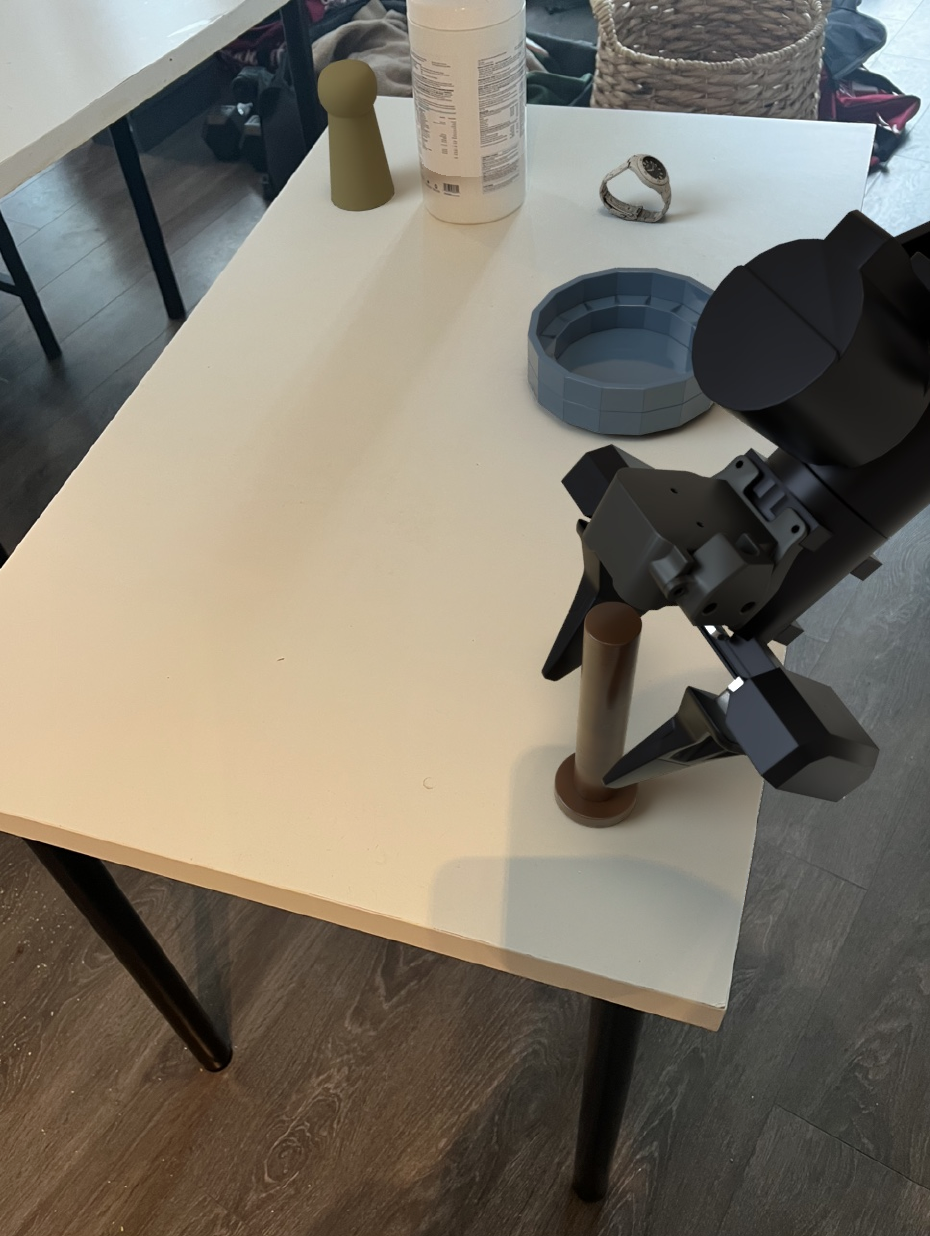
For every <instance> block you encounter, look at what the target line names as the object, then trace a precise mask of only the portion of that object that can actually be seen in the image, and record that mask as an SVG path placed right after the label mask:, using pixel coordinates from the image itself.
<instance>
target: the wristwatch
mask: <svg viewBox="0 0 930 1236" xmlns="http://www.w3.org/2000/svg"><path fill="white" fill-rule="evenodd" d="M627 170H630V171H631V172H633V173H634V174H635V176H636V177H637V178H638V180H639V181H641V183H642V184H643V185H644V186H646V187H647V188H649V189H652V190H653V191H655V192H657V194H658V195H660V197H661V200H662V203H664V204H663V207H662V208H661V209H660V210H652V211H650V210H648V209H646V208H644V205H642V204H641V205H633V204H629V203H627V202H625V201H622V200H620V199H618V198H617V197H615V196H614V195H613V194H612V193H611V192H610V190H609V188H608V182H609V181H611V180H613V178H616V177H617V176H619V175H620V174H622V173H624V172H626V171H627ZM670 181H671V180H670V175H669V172H668V169H667V168H666V166H665V165H664V164H663V162H662V161H661V160H660V159H658V158H657V157H655V156H654V155H651V154H647V153H645V154H644V153H637V154H634V155H632V156H630V157H629V158H628V159H626V161H625V162H623V163H621V164H620V165H619V166H618V167H616V168H614V169H612V170H611V171H609V172H608V173H606V175H605V176H604V177H603V178H602V181H601V183H600V186H599V191H598V192H599V193H598V195H599V198H600V201H601V202H602V204H603V206H604V208H605V209H607V210H608V213H609V214H611V215H613V216H615V217H617V218H619V219H622V220H625V221H632V222H642V223H651V224H652V223H655V222H657V221H660V220H661V218H662V217H663V216H665V214H667V212H668V211H669V209H670V206H671V202H672V187H671V184H670Z"/></svg>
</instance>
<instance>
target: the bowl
mask: <svg viewBox="0 0 930 1236" xmlns="http://www.w3.org/2000/svg"><path fill="white" fill-rule="evenodd" d="M714 291H715V290H714V289H712V288H711V287H709V286H707V285H705V284H704V283H702V282H701V281H699V280H697V279H696V278H694V277H692V276H690V275H686V274H681V273H678V272H673V271H669V270H665V269H661V268H657V267H613V268H607V269H604V270H603V269H602V270H598V271H594V272H588V273H585V274H581V275H578V276H576V277H574V278H572V279H570V280H568V281H566V282H564V283H562V284H561V285H559V286H556V287H555V288H553V289H551V290H550V291H549V292H548V293H547V294H546V295H545V296H544V297H543V298H542V300H541V301H540V302H539V303H538V304H537V305H536V306H535V307H534V308H533V309H532V311H531V314H530V318H529V319H530V320H529V324H528V330H527V381H528V383H529V385H530V388H531V390H532V392H533V394H534V396H535V398H536V401H537V402H538V404H539V405H541V406H542V407H543V408H544V409H546V410H547V411H549V412H550V413H551V414H552V415H554V416H555V417H556V418H557V419H559V420H560V421H561V422H564V423H566V424H569V425H572V426H575V427H577V428H582V429H583V430H587V431H591V432H593V433H597V434H604V435H623V436H624V435H628V436H643V435H647V434H652V433H655V432H660V431H665V430H669V429H674V428H678V427H681V426H682V425H684V424H686V423H687V422H689V421H691V420H693V419H695V418H696V417H698V416H699V415H701V414H703V413H705V412H707V411H708V410H709V409H710V408H711V407H712V405H713V404H714V402H713V401H711V400H710V399H709V398H708V397H707V396H706V395H705V394H704V393H703V392H702V391H701V389H700V387H699V385H698V383H697V380H696V378H695V376H694V372H693V366H692V360H691V355H692V343H693V337H694V333H695V330H696V326H697V323H698V320H699V317H700V315H701V313H702V311H703V309H704V307H705V305H706V303H707V301H708V299H709V298H710V297H711V295H712V294H713V293H714Z"/></svg>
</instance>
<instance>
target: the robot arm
mask: <svg viewBox="0 0 930 1236" xmlns="http://www.w3.org/2000/svg"><path fill="white" fill-rule="evenodd" d="M691 360H692V366H693V372H694V376H695V378H696V380H697V383H698V385H699V387H700V389H701V391H702V392H703V393H704V394H705V395H706V396H707V397H708V398H709V399H710V400H711V401H713V404H715V405H717V406H719V407H720V408H721V409H723V410H724V411H726V412H727V413H728V414H730V415H732V416H733V417H734V418H736V419H737V420H739V421H740V422H741V423H743V424H744V425H746V426H747V427H749V428H750V429H752V430H753V431H755V433H757V434H759V435H760V436H761V437H763V438H764V439H766V440H767V441H769V442H770V443H772V444H773V445H774V446H776V447H777V448H776V449H775V450H774V451H772V453H771V454H769V456H768V457H766V456H765V455H763V454H761V452H758V451H757V450H756V449H754V448H753V447H750V448H749V449H748V450H747V451H746V452H745V453H744V454H740V455H737V456H735V457H734V458H733V459H732V460H731V461H730V462H729V463H728V464H727V465H726V466H725V467H724V468H723V469H722V470H720V471H717V473H715V474H713V475H711V476H703V475H700V474H697V473H696V472H693V471H688V470H677V469H662V468H661V469H660V468H655V467H653V466H651V465H649V464H648V463H647V462H645V461H643V460H641V459H639V458H637V457H636V456H634V455H632V454H631V453H630V452H629V453H628V452H626V451H625V450H624V449H621V448H620V447H618V446H616V445H614V444H613V443H610V444H607V445H604V446H602V447H598V448H595V449H592V450H589V451H586V452H585V453H584V454H582V456H581V457H580V458H579V459H578V460H577V461H576V463H575V464H574V465H573V466H572V467H571V468H570V470H569V471H567V473H566V474H565V475H564V476H563V477H562V479H561V480H560V482H561V484H562V486H563V488H564V489H565V490H566V491H567V494H568V495H569V496H570V497H571V499H572V500H573V502H574V503H575V505H576V506H577V508H578V510H579V511H580V512H581V514H582V515H583V516H584V517H586V518H587V519H589V521H587V520H586V519H584V518H578V520H577V521H576V525H575V531H576V533H577V535H578V536H579V539H580V543H581V550H582V551H581V552H582V561H583V571H582V576H581V578H580V581H579V584H578V587H577V589H576V592H575V595H574V598H573V600H572V602H571V605H570V607H569V609H568V611H567V614H566V616H565V618H564V619H563V623H562V624H561V627H560V629H559V632H558V633H557V636H556V638H555V640H554V642H553V644H552V647H551V649H550V651H549V653H548V656H547V657H546V660H545V662H544V664H543V666H542V668H541V671H540V673H541V675H542V677H543V679H545V680H547V681H550V682H558V681H561V679H563V678H566V677H567V675H570V674H571V673H572V672H574V671H575V670H577V669H578V668H580V667H581V665H582V651H583V636H584V622H585V618H586V615H587V614H588V612H589V611H590V610H591V609H592V608H593V607H595V606H596V605H598V604H601V603H604V602H620V603H624V604H627V605H629V606H631V607H632V608H633V609H635V610H636V611H637V612H638V614H639V615H640V617H641V618H642V617H643V616H644V615H646V614H647V613H648V612H650V611H659V610H661V609H663V608H667V607H679V609H680V610H681V611H682V613H683V614H684V616H685V617H686V619H687V620H688V621H689V623H690V625H691V626H693V627H696V628H697V629H698V631H699V632H700V634H701V635H702V636H703V638H704V639H705V640H706V642H707V643H708V645H709V646H710V647H711V649H712V650H713V652H714V653H715V655H716V656H717V658H718V659H719V660H720V662H721V663H722V664H723V666H724V668H725V669H726V670H727V672H728V673H729V674H730V676H731V678H732V679H733V681H732V682H730V684H728V685H727V686H726V688H725V689H724V690H723V691H721V692H720V693H719V694H717V693H716V694H715V693H713V692H710V691H707V690H704V689H701V688H698V687H695V686H692V685H688V686H686V688H685V690H684V692H683V696H682V698H681V701H680V704H679V707H678V709H677V711H676V713H675V714H674V715H672V716H671V717H670V718H669V719H668V720H666V721H665V722H664V723H662V725H660V726H659V727H658V728H656V729H655V730H654V731H652V732H651V733H650V734H649V735H648V736H646V737H645V738H644V739H643V740H641V741H640V742H639V743H638V744H637V745H635V746H634V747H632V749H630V750H629V751H627V752H626V753H624V755H623V757H622V758H621V759H619V760H618V761H617V762H616V763H615V764H614V765H613V767H612V768H611V769H610V770H609V771H608V772H607V773H606V774H605V775H604V776H603V777H602V779H601V780H602V783H603V784H604V786H605V787H610V788H620V787H624V786H627V785H630V784H634V783H637V782H638V783H641V782H643V781H644V782H645V781H647V780H650V779H653V778H657V777H660V776H663V775H667V774H670V773H673V772H677V771H681V770H683V769H687V768H690V767H693V766H697V765H700V764H701V765H702V764H705V763H708V762H712V761H717V760H718V761H719V760H722V759H728V758H734V757H740V756H746V757H747V758H748V760H749V762H750V763H751V764H752V766H753V767H754V768H755V770H756V772H757V774H759V776H760V777H761V778H762V779H764V781H766V782H767V783H768V784H769V785H770V786H772V787H773V788H774V789H775V790H778V791H782V792H787V793H791V794H796V795H800V796H805V797H809V798H813V799H814V798H815V799H818V800H823V801H828V802H831V803H832V802H833V803H838V802H839V801H841V800H842V799H844V798H845V797H847V795H849V794H851V793H852V792H854V790H856V789H857V788H859V787H860V786H862V784H864V783H865V782H867V781H868V780H869V779H870V777H871V776H872V774H873V772H874V770H875V769H876V765H877V761H878V757H879V755H880V750H881V749H880V747H878V745H877V744H876V743H875V742H874V740H873V739H872V738H871V736H870V735H869V734H868V732H867V731H866V730H865V728H864V727H863V726H862V724H860V722H859V721H858V720H857V718H856V717H855V716H854V714H853V713H852V712H851V711H850V709H849V708H848V707H847V706H846V704H845V703H844V702H843V700H842V699H841V698H840V697H839V695H838V693H836V691H835V690H834V689H833V688H832V687H831V685H827V684H825V683H823V682H819V681H818V680H814V679H812V678H810V677H807V676H805V675H802V674H799V673H797V672H794V671H791V670H789V669H786V667H785V666H784V664H783V663H782V662H781V661H780V659H779V658H778V657H777V655H776V654H775V653H774V651H773V650H772V649H771V647H770V646H769V645H768V644H770V642H772V641H773V642H776V643H778V644H780V645H783V646H785V647H788V646H789V645H790V644H791V643H792V642H794V641H795V640H796V639H797V638H799V636H801V635H802V634H803V633H804V632H805V629H804V628H803V626H801V625H800V623H799V622H798V621H797V619H799V618H800V617H801V616H802V615H803V614H804V613H806V612H807V611H808V610H809V609H810V608H811V607H813V605H815V604H816V603H817V602H818V601H820V600H821V599H822V598H823V597H824V596H825V595H826V594H828V593H829V592H830V591H831V590H832V589H833V588H835V586H837V585H838V584H839V583H841V582H842V581H843V579H845V578H846V577H847V576H848V575H852V576H854V577H855V578H857V579H858V580H860V581H861V582H864V581H865V580H867V578H869V577H870V576H871V575H872V574H874V572H876V571H877V570H878V569H879V568H881V567H882V566H883V565H884V564H883V563H882V561H880V559H879V558H878V557H877V556H876V555H875V554H874V553H875V552H876V551H878V550H879V549H880V548H881V547H882V546H883V545H884V544H886V542H888V541H889V540H890V539H891V538H892V537H893V536H895V534H896V533H897V534H898V532H899V531H900V530H902V529H903V528H904V527H905V526H906V525H907V524H909V523H910V522H911V521H912V520H913V519H915V518H916V517H917V516H918V515H919V514H921V513H922V511H923V510H924V509H926V508H927V507H929V506H930V220H928V221H926V222H924V223H921V224H919V225H917V226H915V227H913V228H911V229H908V230H906V231H903V232H902V233H899V234H897V235H895V236H894V235H892V234H891V233H889V232H888V231H887V230H886V229H885V228H883V227H882V226H880V225H879V224H878V223H877V222H875V221H874V220H873V219H871V218H870V217H869V216H867V215H866V214H865V213H863V212H862V211H861V210H859V209H857V208H856V209H853V210H850V211H848V212H847V213H846V214H845V215H844V217H843V218H842V219H841V220H840V221H839V222H838V223H837V224H836V225H835V226H834V227H833V228H832V230H831V231H830V232H829V233H828V234H827V235H826V236H825V237H824V238H798V239H794V240H790V241H787V242H783V243H778V244H777V245H774V246H773V247H770V248H769V249H766V250H765V251H763V252H760V253H759V254H757V255H756V256H754V257H753V258H752V259H750V260H749V261H747V262H746V263H745V264H744V265H742V264H740V265H737V266H735V267H733V269H731V271H730V272H729V273H728V274H727V275H726V276H725V277H724V278H723V279H722V280H721V281H720V283H719V284H718V286H717V287H716V288H715V290H714V293H713V294H712V295H711V297H710V298H709V299H708V301H707V303H706V305H705V307H704V309H703V311H702V313H701V315H700V317H699V320H698V323H697V326H696V330H695V333H694V337H693V343H692V355H691ZM725 627H727V629H728V630H729V631H730V632H731V633H732V635H731V636H730V634H729V633H728V632H727V630H726V629H725Z"/></svg>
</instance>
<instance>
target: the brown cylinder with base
mask: <svg viewBox="0 0 930 1236" xmlns="http://www.w3.org/2000/svg"><path fill="white" fill-rule="evenodd" d="M642 630H643V620H642V617H640V615H639V614H638V612H637V611H636V610H635V609H633V608H632V607H631V606H629V605H627V604H624V603H620V602H604V603H601V604H598V605H596V606H595V607H593V608H592V609H591V610H590V611H589V612H588V614H587V615H586V618H585V622H584V636H583V651H582V665H581V666H580V667H581V669H580V679H579V680H580V682H579V697H578V711H577V712H578V713H577V725H576V739H575V740H576V741H575V751H574V752H573V753H572V754H570V755H568V756H567V757H566V758H564V760H562V762H561V763H560V764H559V766H558V768H557V770H556V772H555V776H554V786H553V787H554V789H553V791H554V798H555V801H556V804H557V806H558V808H559V809H560V810H561V812H562V813H563V814H564V815H565V816H566V817H567V818H569V819H570V820H571V821H573V822H574V823H576V824H579V825H582V826H585V827H589V828H597V829H598V828H606V827H611V826H614V825H616V824H619V823H620V822H622V821H624V820H625V819H626V818H627V817H628V816H629V815H630V814H631V812H632V811H633V809H634V807H635V805H636V802H637V798H638V792H639V782H637V783H634V784H630V785H627V786H624V787H620V788H610V787H605V786H604V784H603V783H602V780H601V779H602V777H603V776H604V775H605V774H606V773H607V772H608V771H609V770H610V769H611V768H612V767H613V765H614V764H615V763H616V762H617V761H618V760H619V759H621V758H622V757H623V756H624V755H625V749H626V748H625V747H626V741H627V734H628V726H629V722H630V721H629V719H630V713H631V706H632V699H633V693H634V692H633V691H634V686H635V680H636V679H635V678H636V672H637V665H638V658H639V653H640V646H641V645H640V644H641V639H642Z"/></svg>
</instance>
